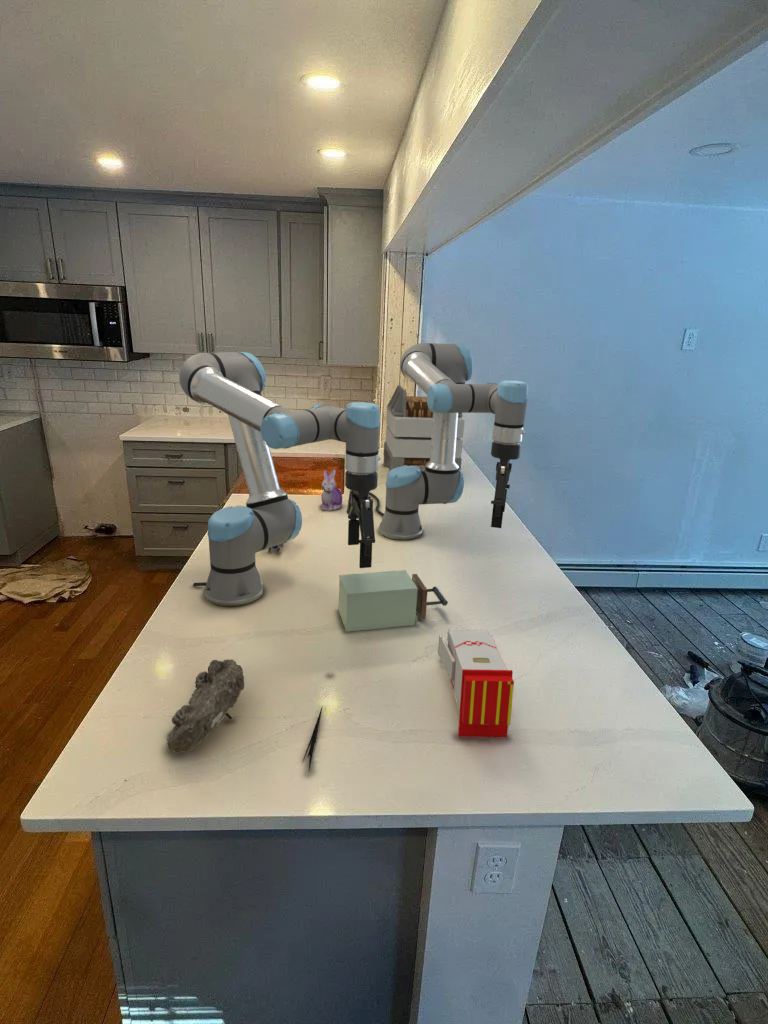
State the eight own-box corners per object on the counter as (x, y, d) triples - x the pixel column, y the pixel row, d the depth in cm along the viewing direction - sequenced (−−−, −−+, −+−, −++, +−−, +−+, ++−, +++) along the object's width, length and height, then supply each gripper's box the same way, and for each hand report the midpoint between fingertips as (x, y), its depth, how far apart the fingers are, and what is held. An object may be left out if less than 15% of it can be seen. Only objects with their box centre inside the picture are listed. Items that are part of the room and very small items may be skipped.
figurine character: (283, 559, 179) (290, 536, 192) (282, 538, 176) (289, 516, 189) (262, 558, 179) (270, 535, 192) (261, 537, 175) (269, 515, 189)
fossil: (192, 660, 117) (244, 628, 112) (224, 691, 120) (276, 661, 115) (142, 746, 98) (202, 712, 93) (182, 779, 101) (242, 748, 96)
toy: (488, 613, 130) (523, 677, 101) (484, 667, 133) (517, 744, 104) (435, 612, 130) (455, 676, 101) (432, 666, 133) (451, 743, 103)
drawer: (435, 600, 153) (438, 572, 151) (447, 617, 145) (450, 587, 142) (355, 607, 148) (356, 578, 145) (362, 625, 140) (363, 595, 137)
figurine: (325, 512, 217) (325, 474, 211) (315, 504, 225) (315, 467, 220) (347, 509, 221) (348, 472, 216) (337, 501, 229) (337, 465, 224)
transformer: (382, 463, 289) (386, 382, 275) (445, 464, 293) (451, 384, 279) (390, 482, 257) (394, 392, 243) (460, 483, 261) (468, 394, 247)
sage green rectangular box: (403, 605, 152) (405, 570, 149) (414, 625, 143) (417, 588, 139) (338, 610, 148) (339, 574, 144) (346, 631, 138) (347, 593, 135)
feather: (331, 679, 122) (336, 673, 122) (307, 777, 96) (313, 769, 95) (324, 675, 122) (329, 669, 121) (298, 772, 95) (304, 764, 95)
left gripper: (391, 486, 120) (387, 576, 128) (365, 457, 143) (362, 535, 150) (357, 487, 118) (354, 579, 126) (336, 457, 141) (335, 536, 148)
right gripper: (519, 454, 135) (509, 536, 142) (523, 434, 158) (513, 506, 165) (488, 451, 136) (479, 532, 144) (495, 431, 159) (487, 503, 166)
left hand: (359, 555), depth 138 cm, fingers open, 13 cm apart
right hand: (497, 518), depth 154 cm, fingers open, 13 cm apart
